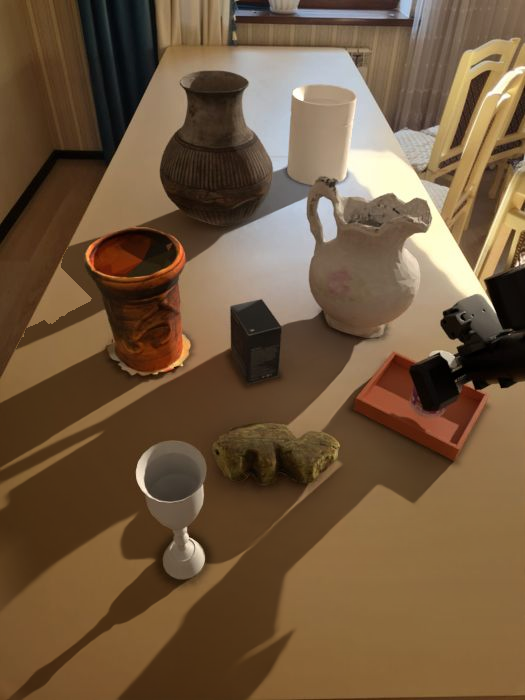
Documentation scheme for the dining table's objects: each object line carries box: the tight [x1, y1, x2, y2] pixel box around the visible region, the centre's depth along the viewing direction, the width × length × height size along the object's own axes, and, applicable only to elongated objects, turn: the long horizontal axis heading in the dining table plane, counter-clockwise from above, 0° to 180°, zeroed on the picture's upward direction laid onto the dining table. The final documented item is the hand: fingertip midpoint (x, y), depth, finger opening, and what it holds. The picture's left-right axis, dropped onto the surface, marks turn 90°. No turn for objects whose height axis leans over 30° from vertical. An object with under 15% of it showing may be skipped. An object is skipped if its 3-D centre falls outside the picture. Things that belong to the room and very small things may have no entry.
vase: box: [159, 70, 274, 227], centre depth 116 cm, size 25×25×30 cm
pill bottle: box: [410, 349, 457, 418], centre depth 78 cm, size 5×5×10 cm
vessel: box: [83, 226, 192, 377], centre depth 85 cm, size 14×14×20 cm
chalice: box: [135, 439, 208, 580], centre depth 59 cm, size 7×7×18 cm
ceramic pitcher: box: [306, 176, 433, 339], centre depth 92 cm, size 22×20×25 cm
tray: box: [353, 350, 490, 462], centre depth 83 cm, size 16×13×3 cm
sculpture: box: [211, 422, 341, 486], centre depth 74 cm, size 18×5×10 cm
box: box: [229, 298, 283, 385], centre depth 86 cm, size 8×6×11 cm
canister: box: [286, 83, 358, 186], centre depth 139 cm, size 16×16×20 cm
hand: (430, 369), depth 78 cm, fingers closed on pill bottle, 5 cm apart
